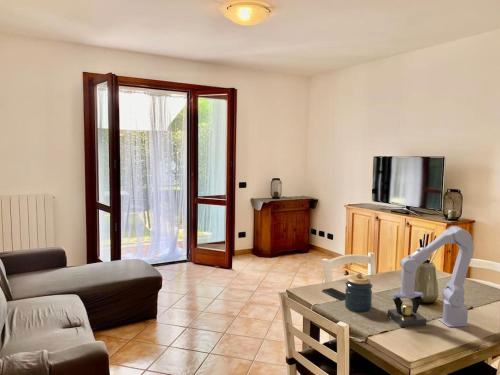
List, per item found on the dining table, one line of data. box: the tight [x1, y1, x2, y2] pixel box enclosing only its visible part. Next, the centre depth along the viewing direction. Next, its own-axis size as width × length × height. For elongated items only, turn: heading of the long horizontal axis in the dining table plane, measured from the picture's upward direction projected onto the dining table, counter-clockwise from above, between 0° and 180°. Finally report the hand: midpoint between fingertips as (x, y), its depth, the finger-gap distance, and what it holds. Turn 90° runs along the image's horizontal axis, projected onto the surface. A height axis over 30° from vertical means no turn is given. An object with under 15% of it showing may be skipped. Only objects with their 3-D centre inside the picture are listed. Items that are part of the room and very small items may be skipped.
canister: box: [344, 272, 373, 313], centre depth 188 cm, size 13×13×18 cm
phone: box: [321, 287, 346, 301], centre depth 206 cm, size 8×1×15 cm
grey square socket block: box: [387, 308, 427, 328], centre depth 174 cm, size 12×12×3 cm
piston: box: [401, 303, 413, 317], centre depth 173 cm, size 4×4×7 cm
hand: (406, 312), depth 173 cm, fingers open, 7 cm apart
